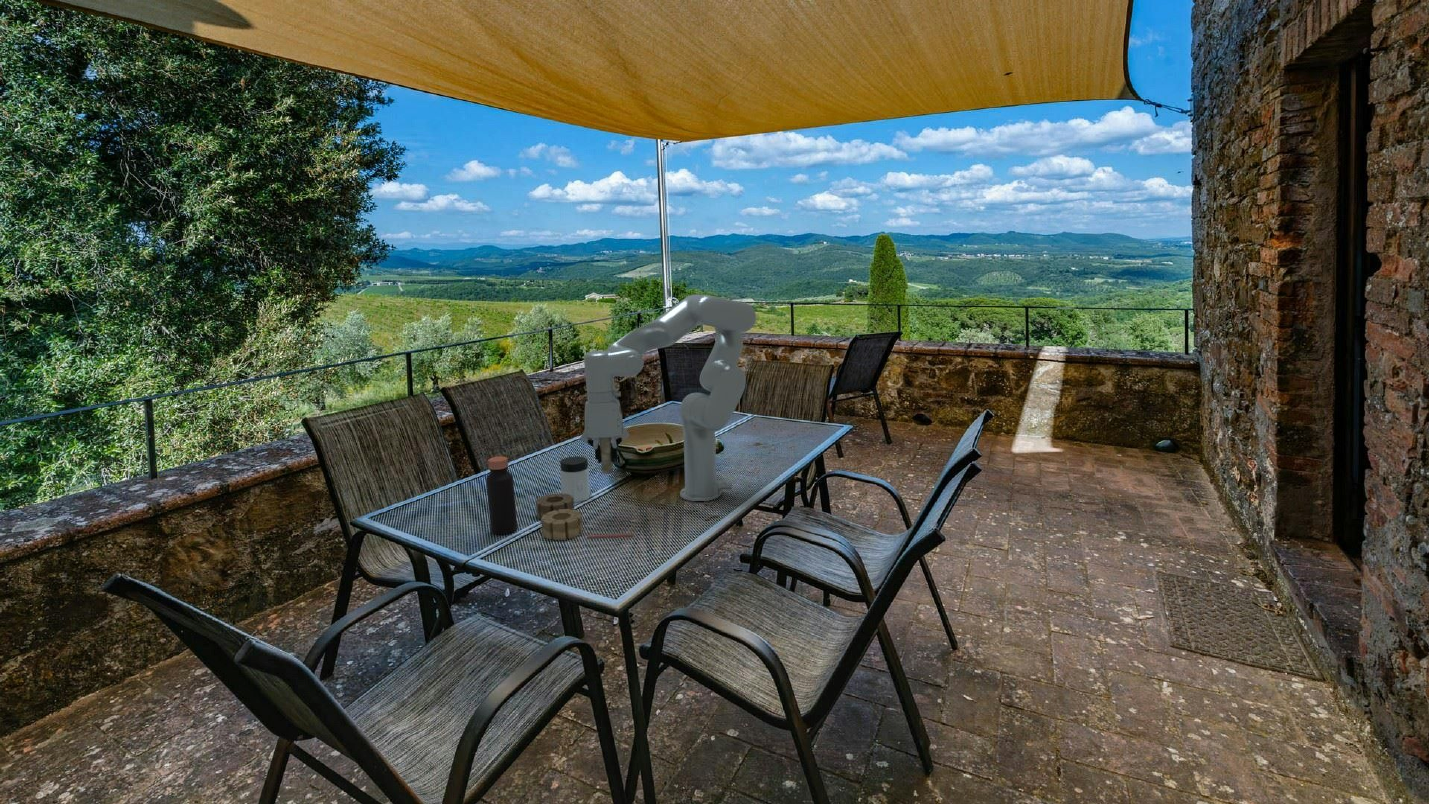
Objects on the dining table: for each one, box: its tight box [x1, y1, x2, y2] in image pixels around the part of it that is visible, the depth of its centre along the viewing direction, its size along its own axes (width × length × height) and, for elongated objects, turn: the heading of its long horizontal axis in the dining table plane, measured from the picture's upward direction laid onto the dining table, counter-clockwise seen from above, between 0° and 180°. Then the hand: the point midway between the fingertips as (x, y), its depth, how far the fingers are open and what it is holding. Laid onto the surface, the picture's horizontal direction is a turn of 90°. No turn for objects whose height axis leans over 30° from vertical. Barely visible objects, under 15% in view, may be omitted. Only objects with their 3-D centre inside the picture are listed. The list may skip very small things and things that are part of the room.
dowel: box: [599, 438, 615, 475], centre depth 180 cm, size 3×3×12 cm
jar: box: [559, 456, 591, 504], centre depth 198 cm, size 9×8×12 cm
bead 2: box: [540, 508, 583, 541], centre depth 173 cm, size 10×10×4 cm
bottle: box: [485, 456, 518, 536], centre depth 173 cm, size 7×7×20 cm
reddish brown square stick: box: [586, 533, 635, 539], centre depth 170 cm, size 12×1×1 cm, turn 94°
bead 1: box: [535, 492, 575, 520], centre depth 186 cm, size 10×10×4 cm
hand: (606, 460), depth 181 cm, fingers closed on dowel, 3 cm apart
